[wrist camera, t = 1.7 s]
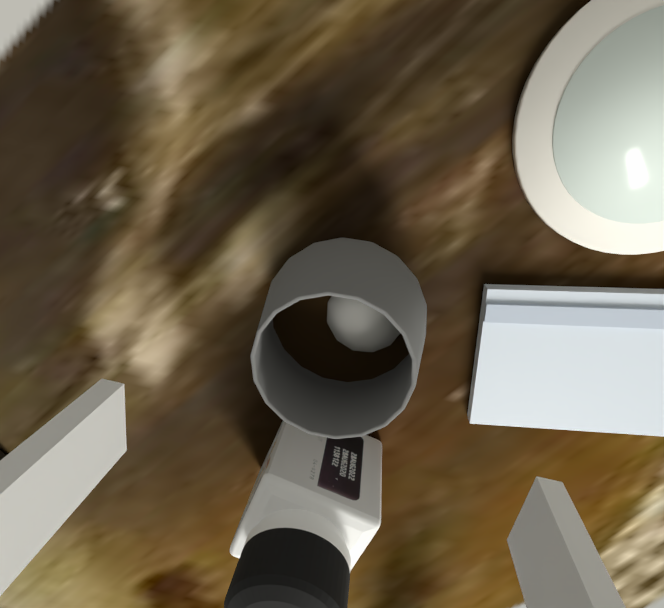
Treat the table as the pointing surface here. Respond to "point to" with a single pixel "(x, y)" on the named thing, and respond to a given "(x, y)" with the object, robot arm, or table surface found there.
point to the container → (306, 521)
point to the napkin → (570, 359)
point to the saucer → (597, 128)
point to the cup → (340, 339)
